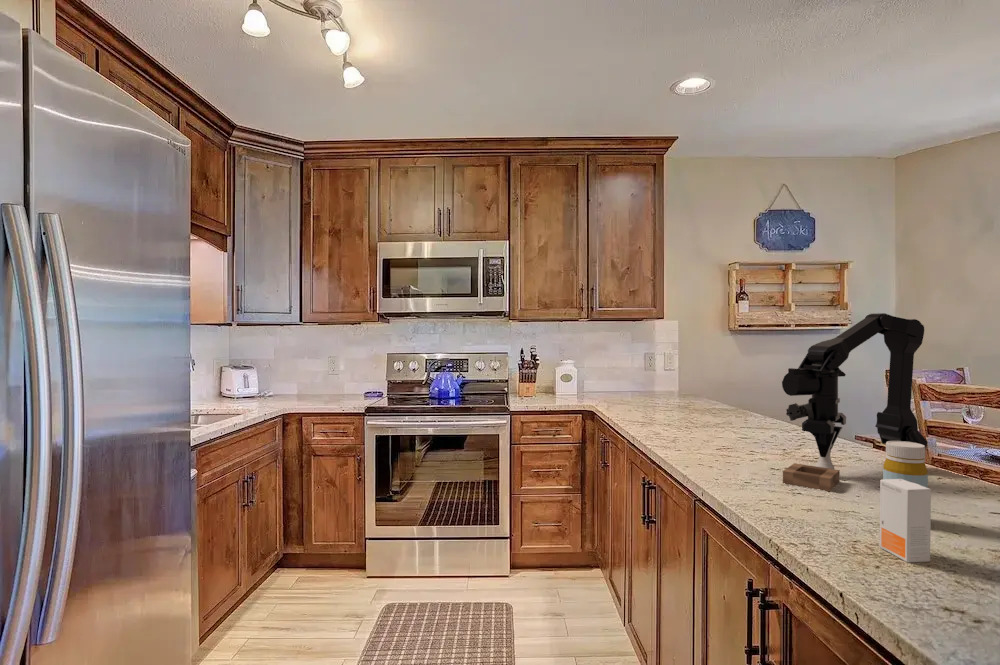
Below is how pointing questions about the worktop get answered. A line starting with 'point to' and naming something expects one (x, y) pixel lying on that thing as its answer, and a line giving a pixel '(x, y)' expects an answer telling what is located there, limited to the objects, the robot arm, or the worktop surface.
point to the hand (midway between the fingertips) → (824, 455)
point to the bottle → (905, 462)
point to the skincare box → (905, 519)
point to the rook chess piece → (825, 461)
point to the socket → (811, 476)
